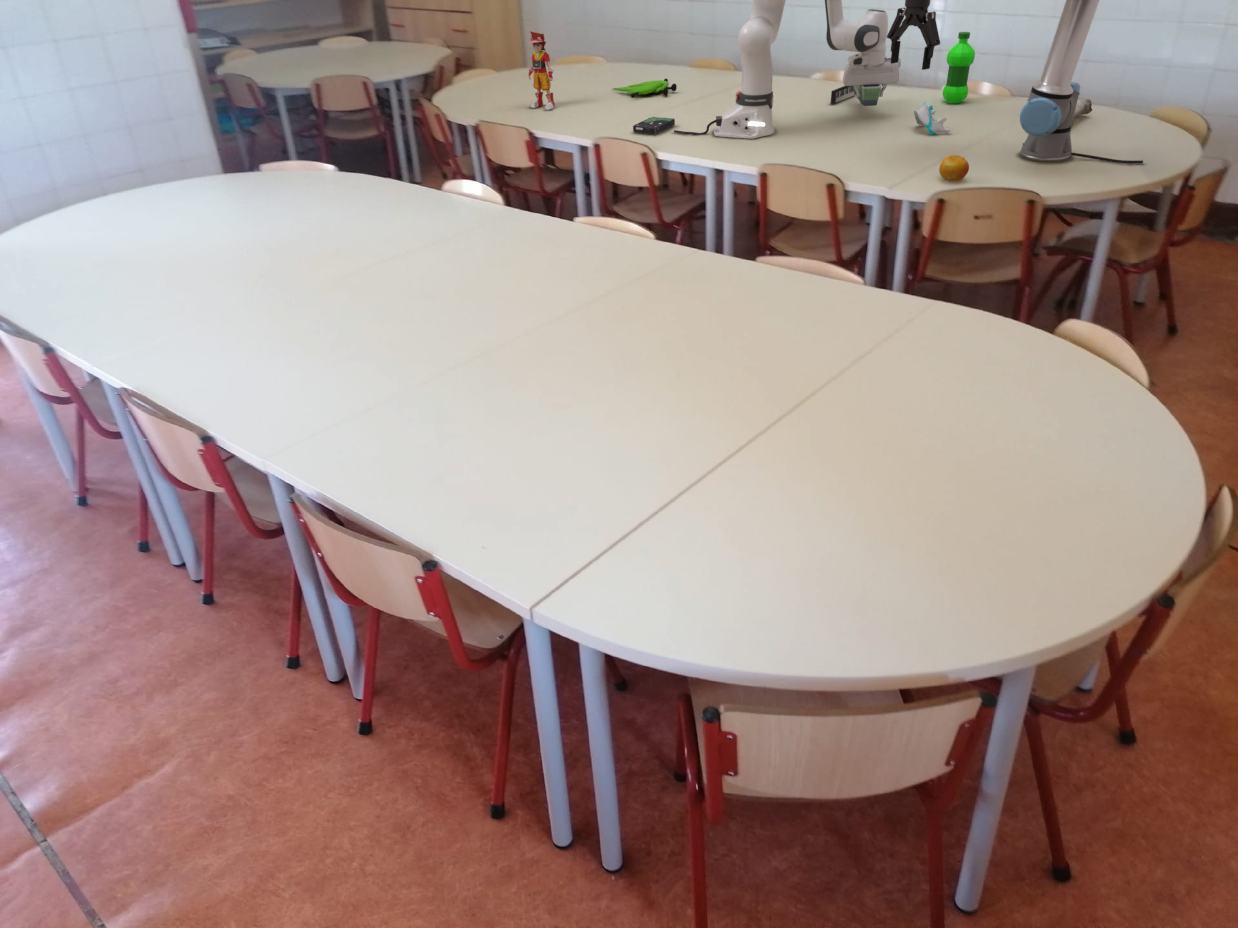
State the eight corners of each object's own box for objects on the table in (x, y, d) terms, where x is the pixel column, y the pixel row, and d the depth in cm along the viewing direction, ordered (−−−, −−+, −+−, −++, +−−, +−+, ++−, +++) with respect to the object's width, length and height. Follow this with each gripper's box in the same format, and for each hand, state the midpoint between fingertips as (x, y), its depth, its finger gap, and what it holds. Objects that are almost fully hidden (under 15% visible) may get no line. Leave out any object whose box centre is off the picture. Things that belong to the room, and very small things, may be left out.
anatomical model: (908, 101, 325) (935, 94, 324) (909, 130, 331) (936, 123, 330) (923, 112, 313) (951, 104, 312) (924, 141, 319) (952, 134, 318)
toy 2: (686, 85, 398) (631, 84, 414) (685, 72, 395) (629, 72, 411) (651, 104, 381) (596, 103, 397) (650, 92, 378) (594, 91, 394)
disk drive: (656, 136, 337) (675, 125, 347) (656, 128, 335) (675, 118, 345) (632, 133, 342) (652, 123, 352) (632, 125, 340) (651, 115, 350)
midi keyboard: (833, 104, 361) (834, 91, 358) (830, 104, 362) (831, 91, 359) (855, 95, 372) (856, 82, 369) (852, 95, 372) (853, 82, 370)
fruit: (933, 171, 274) (950, 147, 271) (934, 173, 282) (951, 150, 279) (956, 186, 273) (974, 163, 270) (956, 188, 281) (973, 165, 278)
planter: (880, 107, 336) (882, 86, 332) (860, 107, 337) (862, 87, 333) (868, 90, 359) (870, 71, 355) (850, 91, 360) (851, 72, 356)
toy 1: (525, 109, 381) (517, 32, 364) (534, 104, 388) (527, 28, 371) (550, 110, 377) (543, 32, 360) (559, 105, 384) (553, 28, 367)
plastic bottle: (973, 101, 354) (984, 32, 339) (955, 106, 349) (966, 36, 335) (952, 97, 361) (962, 29, 346) (934, 102, 356) (944, 33, 342)
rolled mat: (1059, 103, 333) (1083, 86, 324) (1072, 124, 333) (1097, 107, 325) (1027, 125, 315) (1052, 107, 307) (1041, 147, 316) (1067, 130, 308)
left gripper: (899, 54, 333) (895, 93, 340) (843, 57, 334) (841, 96, 342) (903, 57, 327) (898, 97, 335) (846, 61, 329) (843, 100, 337)
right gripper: (958, -5, 271) (947, 70, 283) (897, -12, 289) (889, 59, 301) (941, -2, 268) (930, 73, 280) (880, -9, 286) (873, 62, 298)
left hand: (869, 97), depth 339 cm, fingers closed on planter, 6 cm apart
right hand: (909, 66), depth 291 cm, fingers open, 13 cm apart
